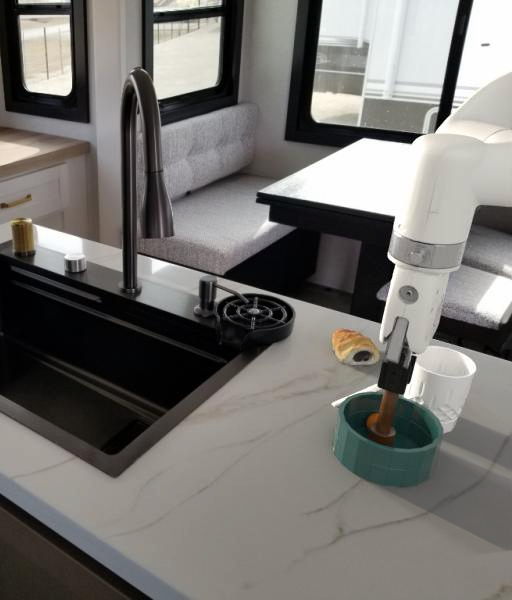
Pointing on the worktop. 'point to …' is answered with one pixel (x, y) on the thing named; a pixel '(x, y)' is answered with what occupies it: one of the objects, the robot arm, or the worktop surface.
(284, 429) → the worktop surface
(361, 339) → the pastry
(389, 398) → the brown wooden pestle
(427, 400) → the white cup
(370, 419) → the ball
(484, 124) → the robot arm
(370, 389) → the fork
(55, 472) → the worktop surface
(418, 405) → the bowl
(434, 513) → the worktop surface
